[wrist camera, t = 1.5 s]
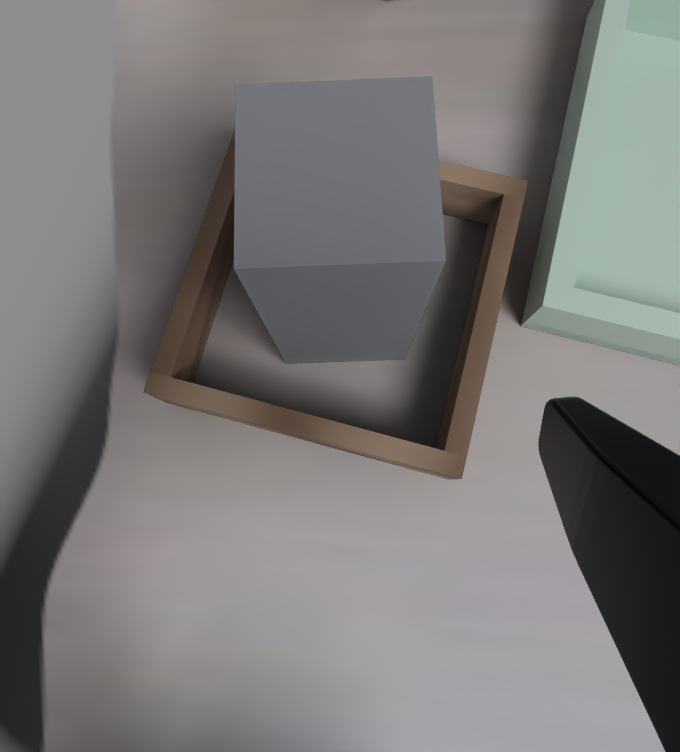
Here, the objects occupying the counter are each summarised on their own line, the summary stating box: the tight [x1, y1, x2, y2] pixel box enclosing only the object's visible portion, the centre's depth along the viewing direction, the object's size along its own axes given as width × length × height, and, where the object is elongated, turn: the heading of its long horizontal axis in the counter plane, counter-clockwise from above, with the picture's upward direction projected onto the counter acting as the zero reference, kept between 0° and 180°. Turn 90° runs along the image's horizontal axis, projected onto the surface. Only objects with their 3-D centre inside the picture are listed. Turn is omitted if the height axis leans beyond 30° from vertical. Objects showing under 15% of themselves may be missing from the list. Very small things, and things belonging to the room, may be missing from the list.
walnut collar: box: [144, 131, 528, 479], centre depth 21 cm, size 12×12×2 cm
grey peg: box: [234, 76, 446, 364], centre depth 18 cm, size 5×5×10 cm
